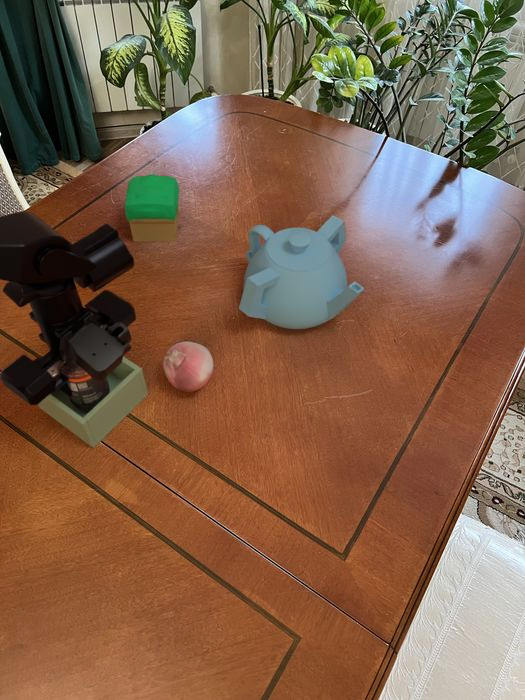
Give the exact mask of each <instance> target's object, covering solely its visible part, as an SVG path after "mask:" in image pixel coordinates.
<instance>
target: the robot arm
mask: <svg viewBox="0 0 525 700" xmlns="http://www.w3.org/2000/svg"><path fill="white" fill-rule="evenodd" d="M134 267H135V259H134V256H133V255H132V253H130V250H129V249H128V247H127V246H126V244H125V243H124V240H122V239H121V237H120V235H119V230H118V229H116V228H115V227H113V226H112V225H111V224H109V223H107V222H106V223H104V224H103V225H101V226H99V227H98V228H96V229H95V230H94V231H92V232H91V233H89V234H87V235H86V236H84V237H82V238H81V239H79V240H77V241H75V242H73V243H71V242H70V241H69V240H67V238H66V237H64V236H63V235H61V234H60V233H59V232H58V231H57V230H55V229H54V228H53V227H52V226H51V225H49V224H48V223H47V222H46V221H44V220H43V219H42V218H41V217H39V216H38V215H36V214H35V213H34V212H31V211H25V210H23V211H17V212H13V213H8V214H5V215H0V281H6V283H5V285H4V287H3V288H2V293H3V294H5V295H6V296H7V297H8V298H9V299H10V300H11V301H12V302H13V303H14V304H15V305H16V306H17V307H18V308H24V307H25V306H28V304H29V306H30V308H31V312H29V313H28V315H29V317H30V319H31V320H32V321H33V322H35V323H37V325H38V327H39V329H40V333H39V334H38V338H39V340H40V341H42V342H43V343H44V344H46V346H47V348H48V350H49V351H48V352H46V353H45V354H44V355H42V356H41V357H40V358H39V357H36V358H35V359H31V358H30V357H28V356H27V355H26V354H21V355H20V356H19V357H17V358H15V360H14V361H12V362H11V363H10V364H9V365H7V366H6V367H5V368H3V369H2V370H1V371H0V381H1V382H2V384H3V385H4V386H5V387H6V388H7V389H8V390H10V392H12V393H13V394H15V395H17V396H18V397H19V398H20V399H21V400H23V401H25V402H26V403H27V404H28V405H30V406H38V404H39V403H40V402H41V401H42V400H44V399H45V398H46V397H47V396H48V395H49V394H51V393H54V392H56V391H57V390H58V389H60V390H61V391H63V392H64V393H65V394H67V395H68V396H69V397H71V396H72V391H71V389H70V387H69V385H68V384H67V381H68V380H69V379H68V378H66V377H65V376H64V375H62V374H61V373H59V367H61V366H62V365H63V364H64V363H65V362H67V363H69V364H70V363H71V362H73V361H75V362H76V363H77V364H78V365H79V366H80V367H81V368H82V369H83V370H84V371H86V372H87V373H88V374H89V375H90V376H91V377H92V378H93V379H94V380H97V381H101V380H103V379H105V378H106V377H107V376H108V374H110V373H111V372H112V371H113V370H114V369H115V368H116V367H118V366H119V365H120V364H121V363H122V360H123V357H125V355H126V354H127V353H128V352H129V351H130V350H131V349H132V346H131V344H130V343H131V342H132V334H131V332H130V328H129V326H130V325H132V324H133V323H134V322H135V321H136V320H137V315H136V311H135V307H134V305H133V304H132V303H131V302H129V301H128V300H126V299H124V298H123V297H121V296H119V295H118V294H116V293H115V292H113V291H112V290H109V289H104V290H101V289H103V287H105V286H107V285H109V284H110V283H112V282H113V281H115V280H117V279H118V278H120V277H122V276H123V275H124V274H126V273H128V272H129V271H130V270H132V269H133V268H134ZM77 286H79V287H80V288H81V289H87V288H89V289H90V290H91V291H92V293H95V292H97V291H100V290H101V292H99V293H98V294H97V295H95V296H94V297H93V298H92V299H91V300H90V301H87V303H86V304H84V306H83V303H82V300H81V297H80V294H79V290H78V288H77Z"/></svg>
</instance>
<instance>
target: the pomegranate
mask: <svg viewBox="0 0 525 700" xmlns="http://www.w3.org/2000/svg"><path fill="white" fill-rule="evenodd" d="M214 364H215V363H214V359H213V356H212V354H211V352H210V351H209V349H208V348H207V347H205V346H203V345H202V344H200V343H197V342H194V341H181V342H178V343H175V344H173V345H172V346H171V347H169V349H168V350H167V352H166V353H165V354H164V357H163V365H162V367H163V372H164V374H165V376H166V378H167V380H168V382H169V383H170V384H171V385H172V386H173V387H174V388H175V389H176V390H178V391H181V392H185V393H191V392H192V393H193V392H195V391H198V390H200V389H202V388H203V387H204V386H205V385H206V384H207V383H208V382H209V381H210V379H211V377H212V376H213V374H214V369H215V365H214Z"/></svg>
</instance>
